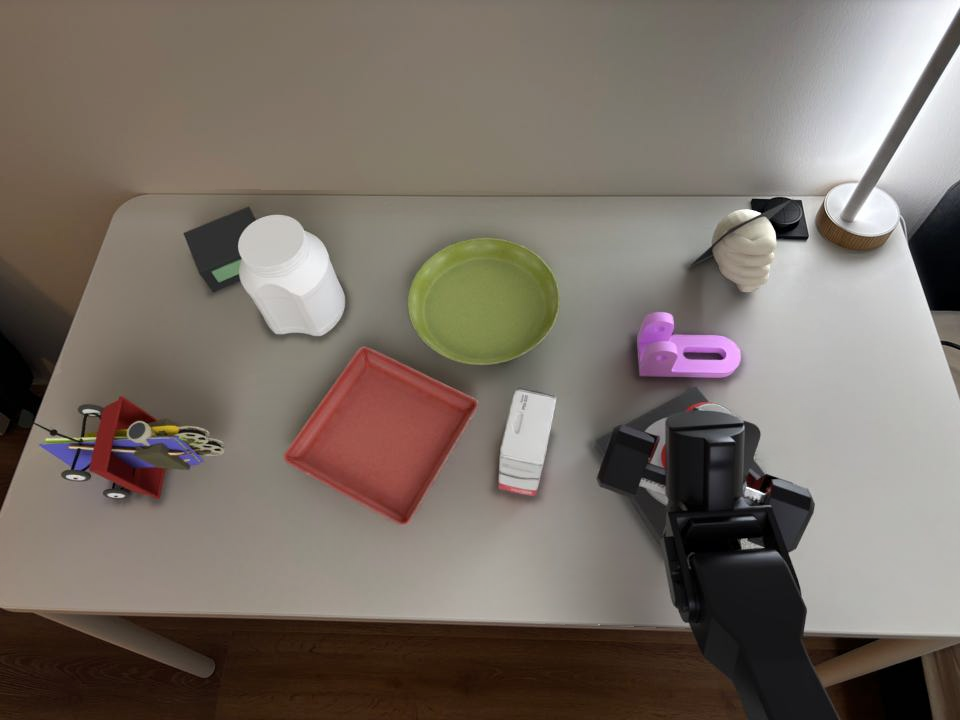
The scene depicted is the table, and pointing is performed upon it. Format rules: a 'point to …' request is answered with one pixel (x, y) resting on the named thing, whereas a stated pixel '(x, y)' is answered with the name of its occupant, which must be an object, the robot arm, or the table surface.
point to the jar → (290, 277)
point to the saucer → (483, 301)
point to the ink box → (525, 441)
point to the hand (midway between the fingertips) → (699, 454)
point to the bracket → (681, 351)
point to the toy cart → (127, 448)
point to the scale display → (219, 248)
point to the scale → (659, 458)
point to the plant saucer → (382, 434)
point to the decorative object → (744, 247)
